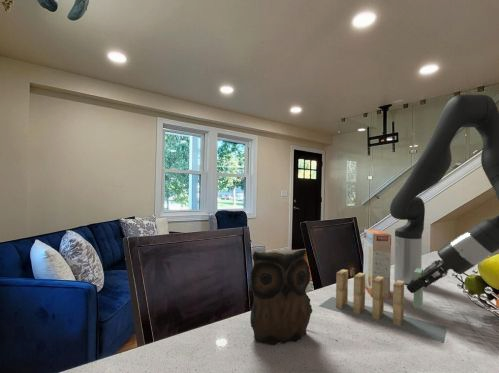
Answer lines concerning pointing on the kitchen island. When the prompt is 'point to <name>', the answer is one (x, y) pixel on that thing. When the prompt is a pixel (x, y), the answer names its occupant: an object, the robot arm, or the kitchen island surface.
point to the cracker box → (377, 259)
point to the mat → (386, 319)
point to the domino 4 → (398, 302)
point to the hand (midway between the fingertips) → (411, 287)
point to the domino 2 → (359, 293)
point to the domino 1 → (341, 288)
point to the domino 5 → (419, 293)
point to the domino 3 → (378, 297)
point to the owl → (280, 296)
